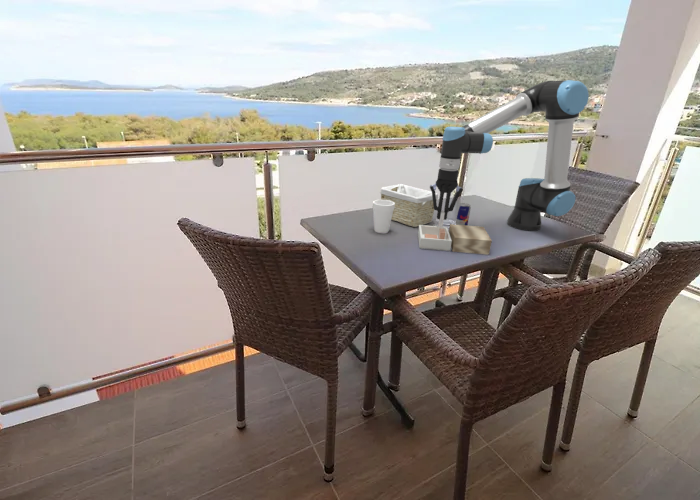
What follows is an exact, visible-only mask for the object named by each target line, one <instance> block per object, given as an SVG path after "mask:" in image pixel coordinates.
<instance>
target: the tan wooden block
mask: <svg viewBox="0 0 700 500" xmlns="http://www.w3.org/2000/svg"><path fill="white" fill-rule="evenodd" d="M448 231H449V234H450V237H451V240H452V242H451V251H452V252H454V253H455V252H456V253H466V254H477V255H485V256H486V255H490V251H491V247H492V242H493V240H492V239H491V237H490V235H489V233H488V232H487V231H486V229H485V227H484V226H478V225H475V226H474V225H468V226H467V225H455V223H454V224H453V223H451V224H449V229H448Z"/></svg>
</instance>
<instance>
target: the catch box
mask: <svg viewBox="0 0 700 500" xmlns="http://www.w3.org/2000/svg"><path fill="white" fill-rule="evenodd" d="M440 229H445V239H433V238H425V234H432V235H437V238H438V236H439V230H440ZM417 239H418V247H419V250H420V249H421V250H432V251H442V252H443V251H444V252H451V250H452V248H451V242H452V240H451V237H450V234H449V229H448V227H447V226H443V228H439V226H435V225H426V224H424V225H419V226H418V231H417Z"/></svg>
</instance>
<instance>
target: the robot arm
mask: <svg viewBox="0 0 700 500" xmlns="http://www.w3.org/2000/svg"><path fill="white" fill-rule="evenodd" d="M589 97H590V95H589V89H588V87H587V85H586V84H584V82H582V81H579V80H572V79H567V80H566V79H565V80H564V79H563V80H546V81H543V82H540V83H537V84H535V85H533V86H531V87H529V88H527V89H525V90H522V91H520V93H518V94H516V97H515V98H514V99H512V100H510V101H508V102H506V103H504V104H503V105H500V106H498V107H496V108H494V109H493V110H491V111H489V112H487V113H485V114H483V115H482V116H480V117H478V118H476V119H474V120H472V121H470V122H468V123H467V124H465V125H463V126H447V127H445V128H444V132H443V135H442V144H441V151H440V152H441V153H440V160H439V164H438V165H439V166H438V167H439V169H438V172H437V179H436V181H435V183H433V184H430V185H429V190H430V191H431V192H432V198H433V207H434V211H437V213H436V219H437V220H438V227H439V228H443V227H444V220H447V218H448V213H449V212H453V210H454V208H455V206H456V203H457V201H458V199H459V197H460V194H461V193H462V192H463V191H464V189H463V188H462V187H461V186H459V183H458V179H459V169H460V164H461V159H462V154H480V155H481V154H488V153H489V152H490V151H491V150H492V148H493V143H494V139H493V136H492V134H490V133H492V132H494V131H495V130H498V129H499V128H502V127H503V126H505V125H507V124H509V123H510V122H513V121H515V120H516V119H518V118H520V117H522V116H525V117H526V116H528V115H531V114H533V113H538V112H545V116H544V117H545V118H544V120H546V121H547V122H548V131H547V133H548V134H547V142H546V143H547V144H546V154H545V155H546V156H545V165H544V166H545V167H544V178H538V177H537V178H533V177H526V178H522V179H521V180H520V182H519V186H518V189H517V194H516V199H515V204H514V206H513V207H514V208H513V210H512V211H511V213H510V214H509V216H508V217H507V220H506V221H507V222H506V224H507V225H508V226H509V227H511V228H514V229H516V230H517V229H518V230H521V231H528V232H529V231H530V232H531V231H534V232H535V231H540V230H541V228H542V216H541V215H542V214H541V212H544V213H546V214H548V215H550V216H554V217H562V216H564V215H566V214H568V213H569V212H570V210H572V208H573V207H574V206H575V203H576V195H575V193H574V191H571V185H572V183H571V182H570V181H569V180H568V175H569V167H570V157H571V151H572V150H571V147H572V139H573V133H574V132H573V130H574V122H575V121H576V120H577V119H578V118H579V116H580V113H581V112H583V110H585V107H587V105H588V103H589V102H588V101H589ZM437 189H438V191H439V196H438V205H437V201H436V194H435V193H436V190H437ZM454 191H455V192H454ZM453 192H454V195H453V198H452V200H451V194H452V193H453ZM445 193H446V195H445ZM444 196H445V202H444ZM450 200H451V202H450ZM443 202H444V209H443ZM442 209H443V210H442Z"/></svg>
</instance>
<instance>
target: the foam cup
mask: <svg viewBox="0 0 700 500" xmlns="http://www.w3.org/2000/svg"><path fill="white" fill-rule="evenodd" d="M394 206H395V203H394V202H392V201H389V200H381V199H376V200H373V201H372V213H373V229H374V230H373V231H374V232H375V233H378V234H387V233H389V230H390V227H391V222H392V220H391V219H392V214H393V210H394Z"/></svg>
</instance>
